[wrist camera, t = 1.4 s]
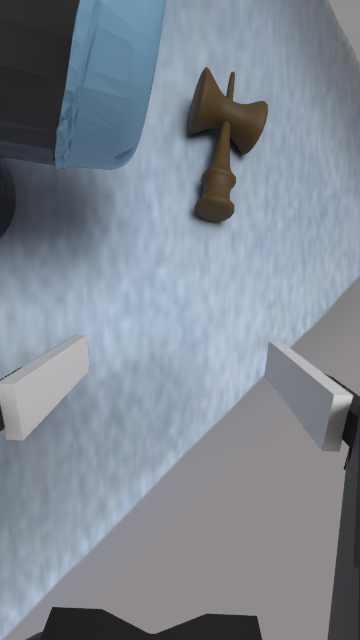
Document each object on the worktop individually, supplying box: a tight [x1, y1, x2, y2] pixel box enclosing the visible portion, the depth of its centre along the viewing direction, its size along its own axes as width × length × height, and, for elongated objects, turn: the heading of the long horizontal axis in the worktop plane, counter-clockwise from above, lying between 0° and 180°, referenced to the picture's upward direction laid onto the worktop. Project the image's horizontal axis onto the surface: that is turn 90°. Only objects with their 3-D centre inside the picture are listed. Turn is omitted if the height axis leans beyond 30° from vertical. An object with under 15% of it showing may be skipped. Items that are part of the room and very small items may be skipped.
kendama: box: [188, 67, 268, 222], centre depth 28 cm, size 6×10×20 cm
